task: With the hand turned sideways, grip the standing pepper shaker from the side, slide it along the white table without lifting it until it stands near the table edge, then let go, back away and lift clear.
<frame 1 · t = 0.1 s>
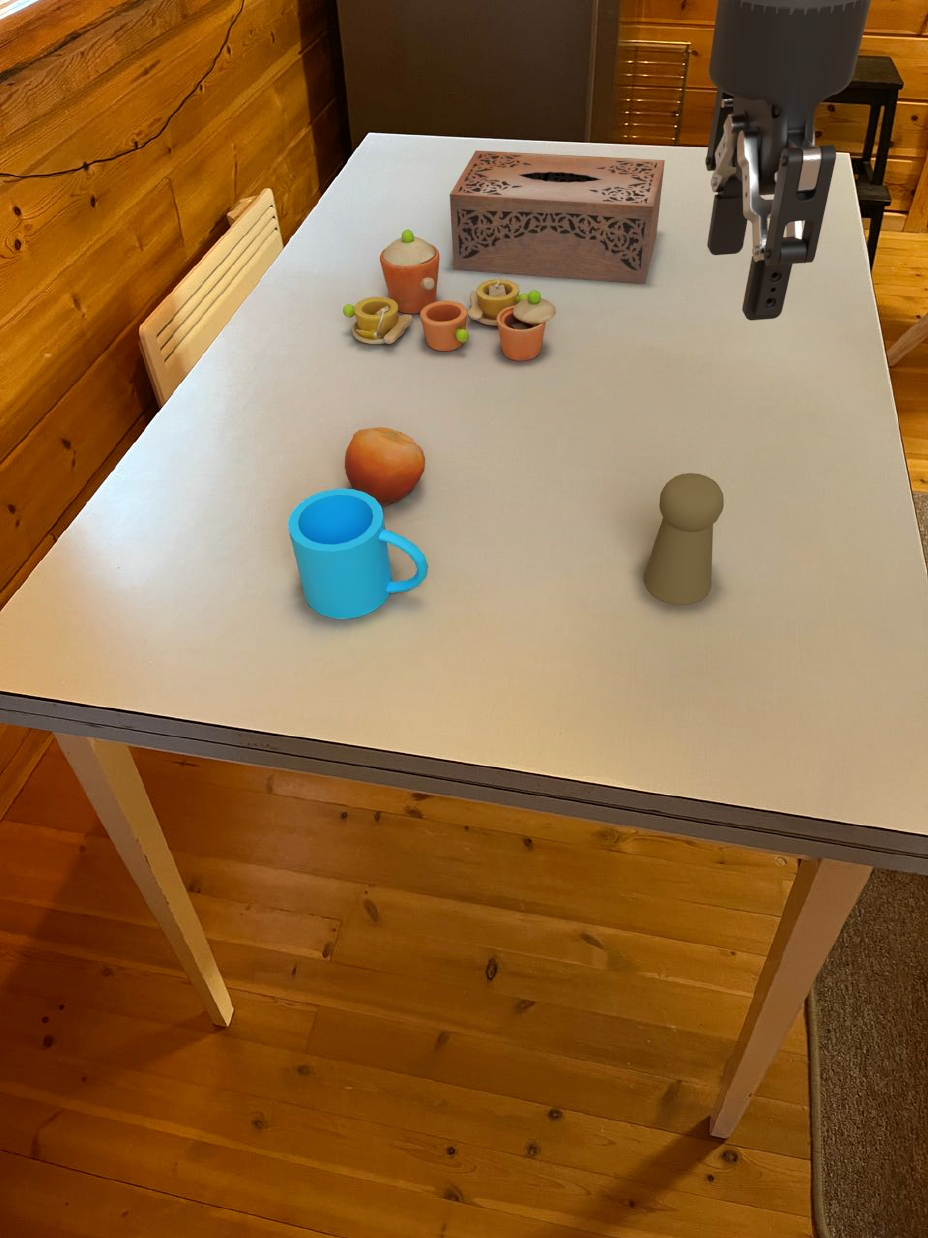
hand: (741, 282, 59), 31 cm above the table, tool pointing down, fingers open, 8 cm apart
pepper shaker: (677, 582, 84), on the table
tissue box cover: (556, 252, 128), on the table
mug: (368, 591, 85), on the table
fruit: (388, 492, 94), on the table
toy tea set: (456, 328, 116), on the table
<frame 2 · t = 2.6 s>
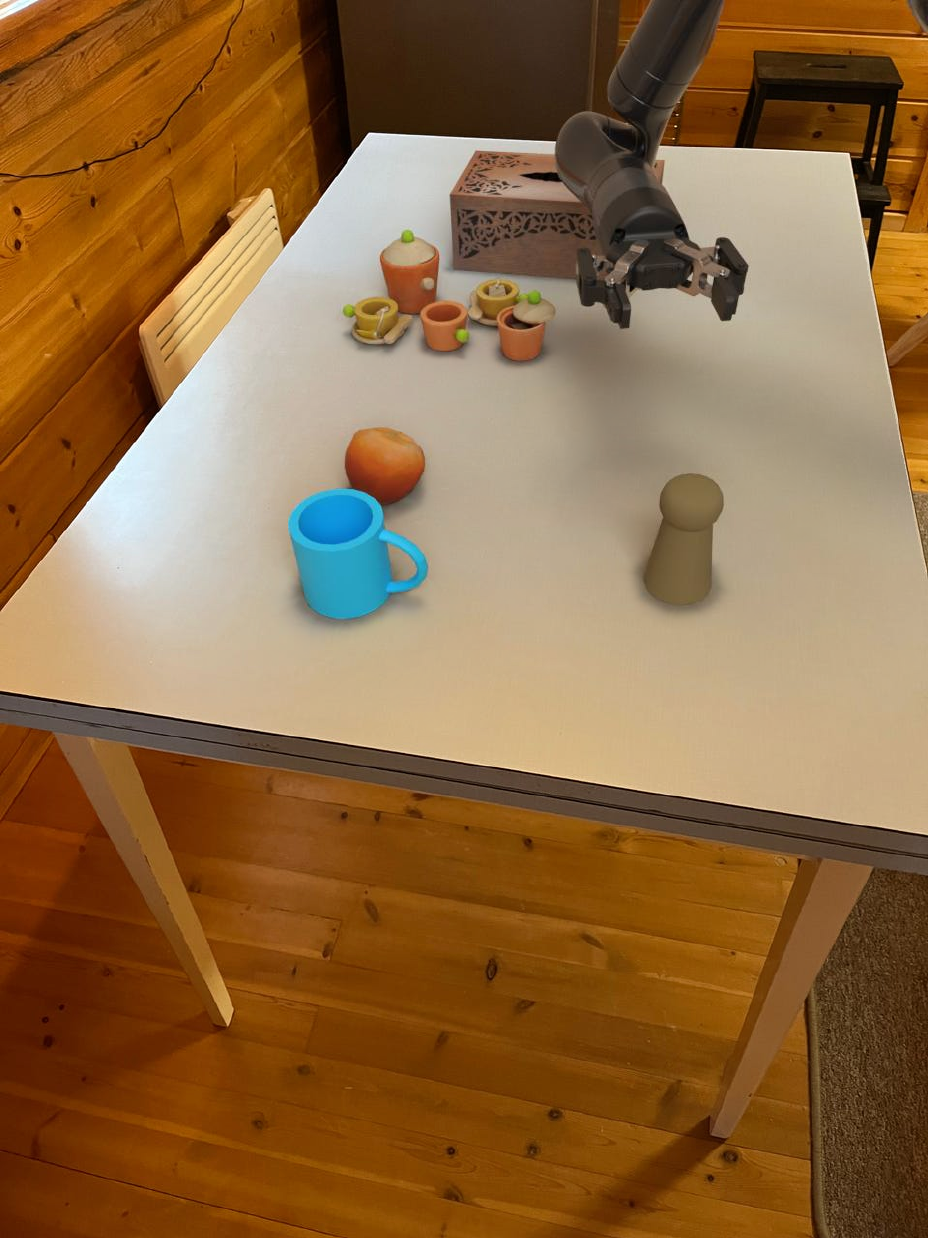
hand: (677, 314, 76), 20 cm above the table, tool horizontal, fingers open, 8 cm apart
nothing on the table moved.
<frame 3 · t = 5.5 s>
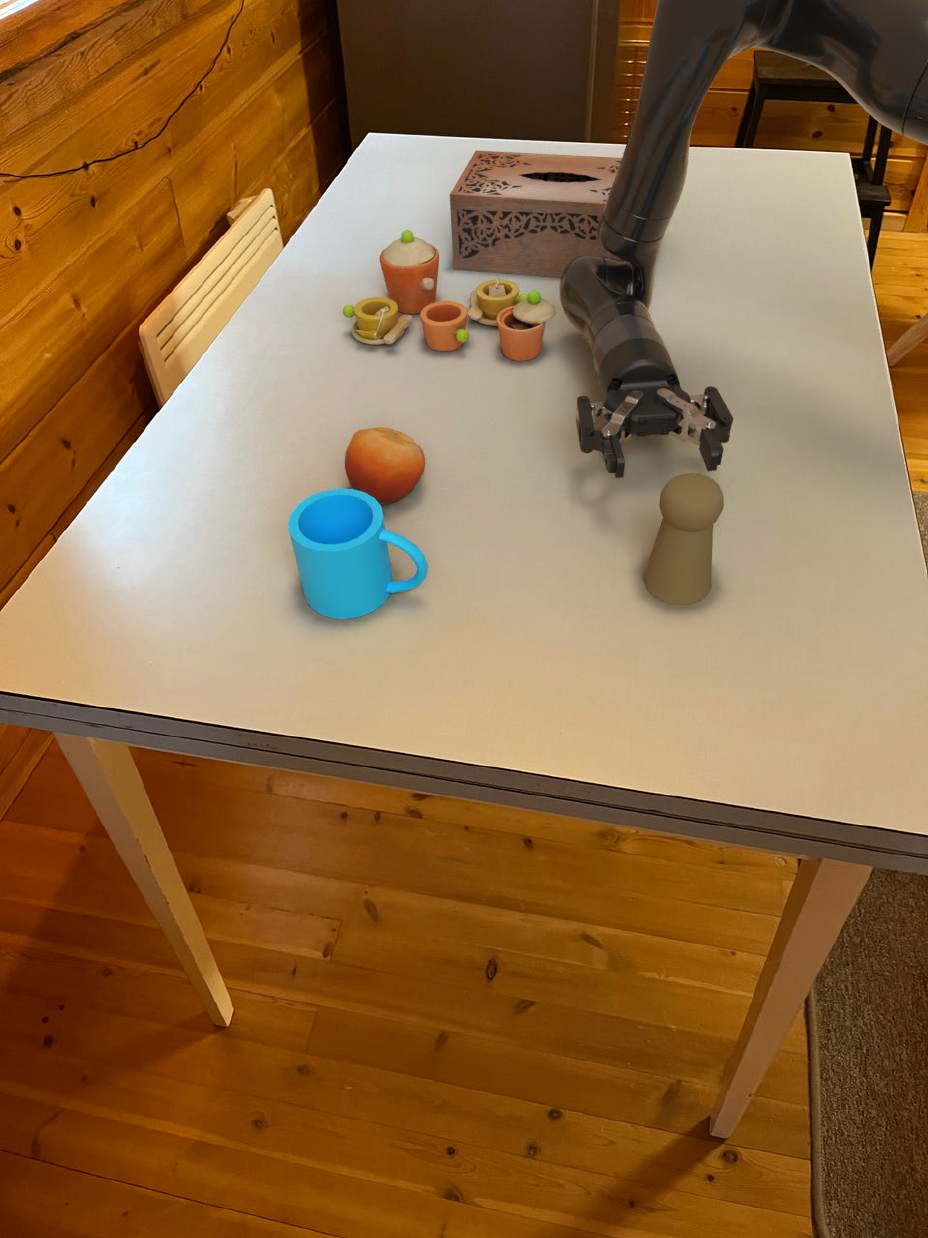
hand: (667, 466, 84), 7 cm above the table, tool horizontal, fingers open, 8 cm apart
nothing on the table moved.
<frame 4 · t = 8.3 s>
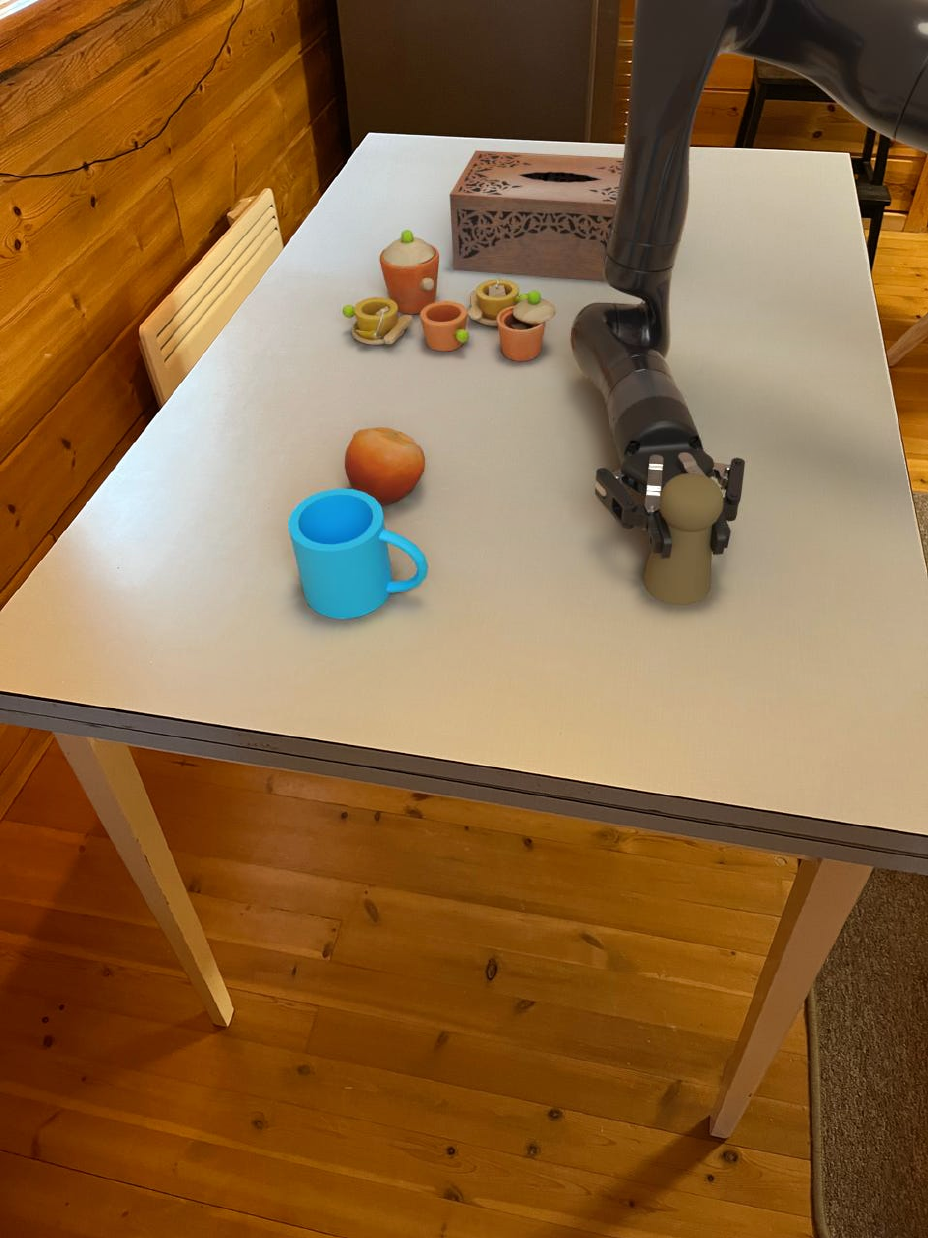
hand: (693, 548, 77), 7 cm above the table, tool horizontal, fingers closed on pepper shaker, 4 cm apart
pepper shaker: (676, 582, 84), on the table, touching gripper
everything else where it was.
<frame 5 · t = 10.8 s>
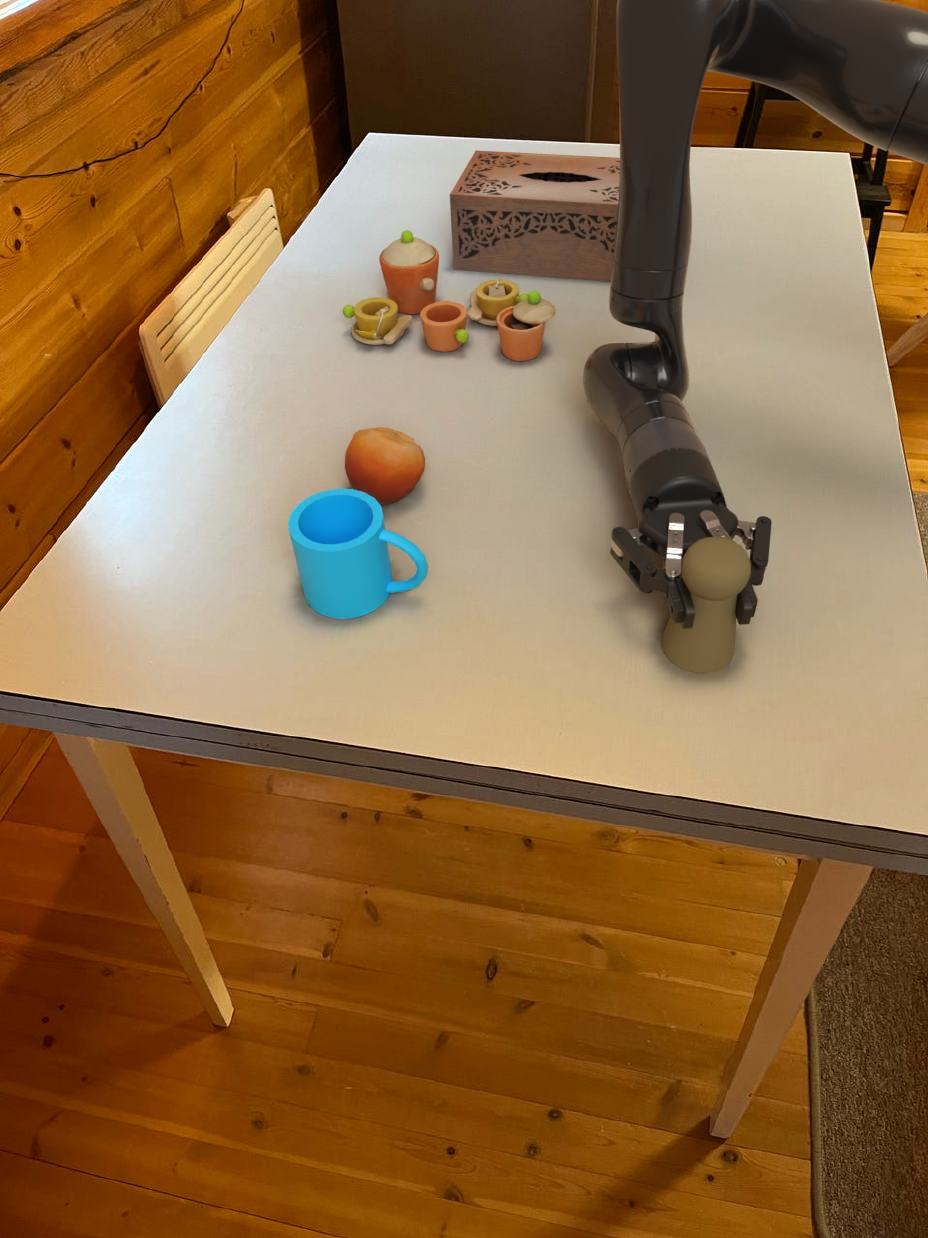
hand: (718, 618, 72), 7 cm above the table, tool horizontal, fingers closed on pepper shaker, 4 cm apart
pepper shaker: (697, 646, 78), on the table, touching gripper
everything else where it was.
when the fingers open (7 cm above the table, at t = 13.6 s): pepper shaker stays where it is, on the table.
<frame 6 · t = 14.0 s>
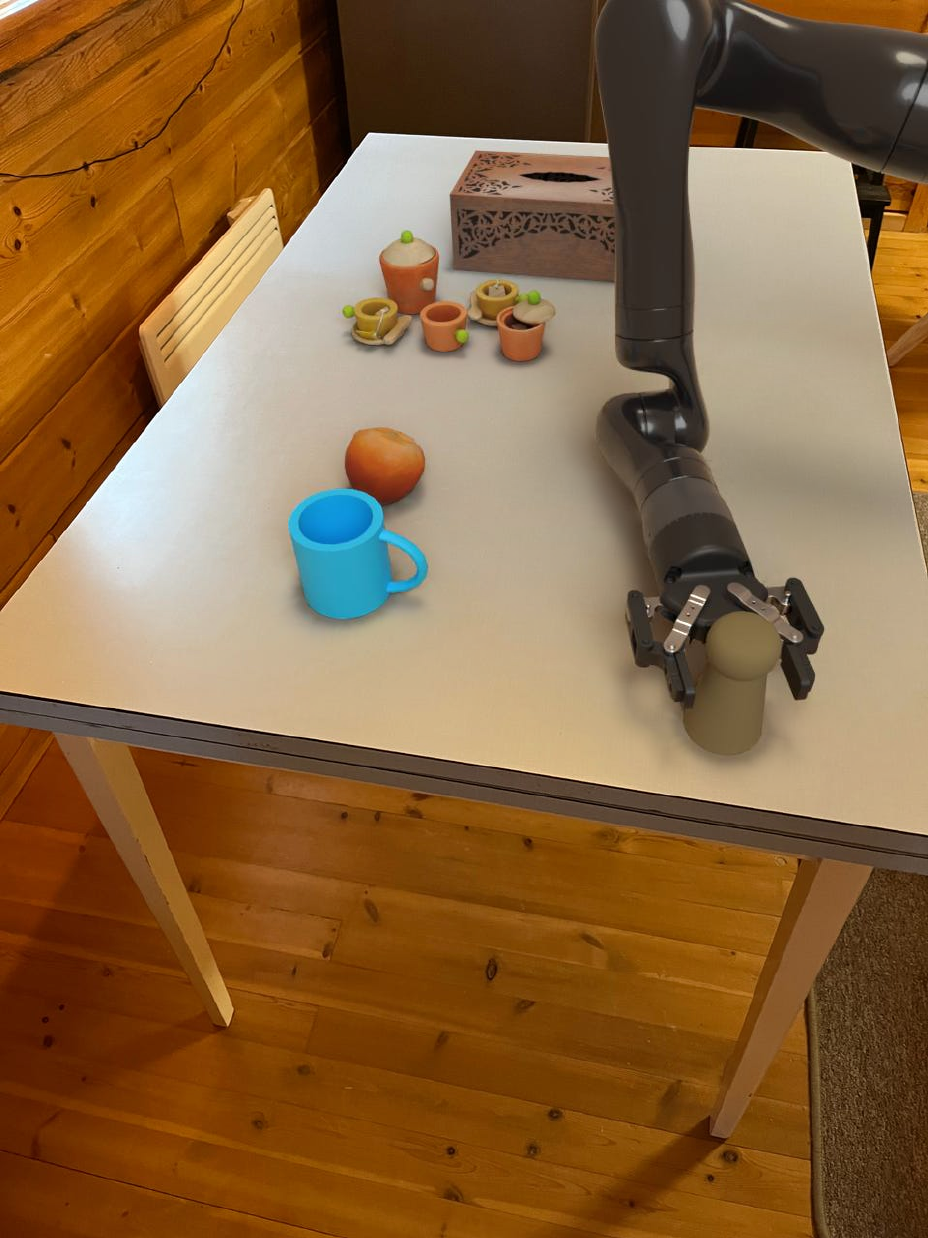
hand: (746, 697, 66), 7 cm above the table, tool horizontal, fingers open, 8 cm apart
pepper shaker: (722, 724, 73), on the table
everything else where it was.
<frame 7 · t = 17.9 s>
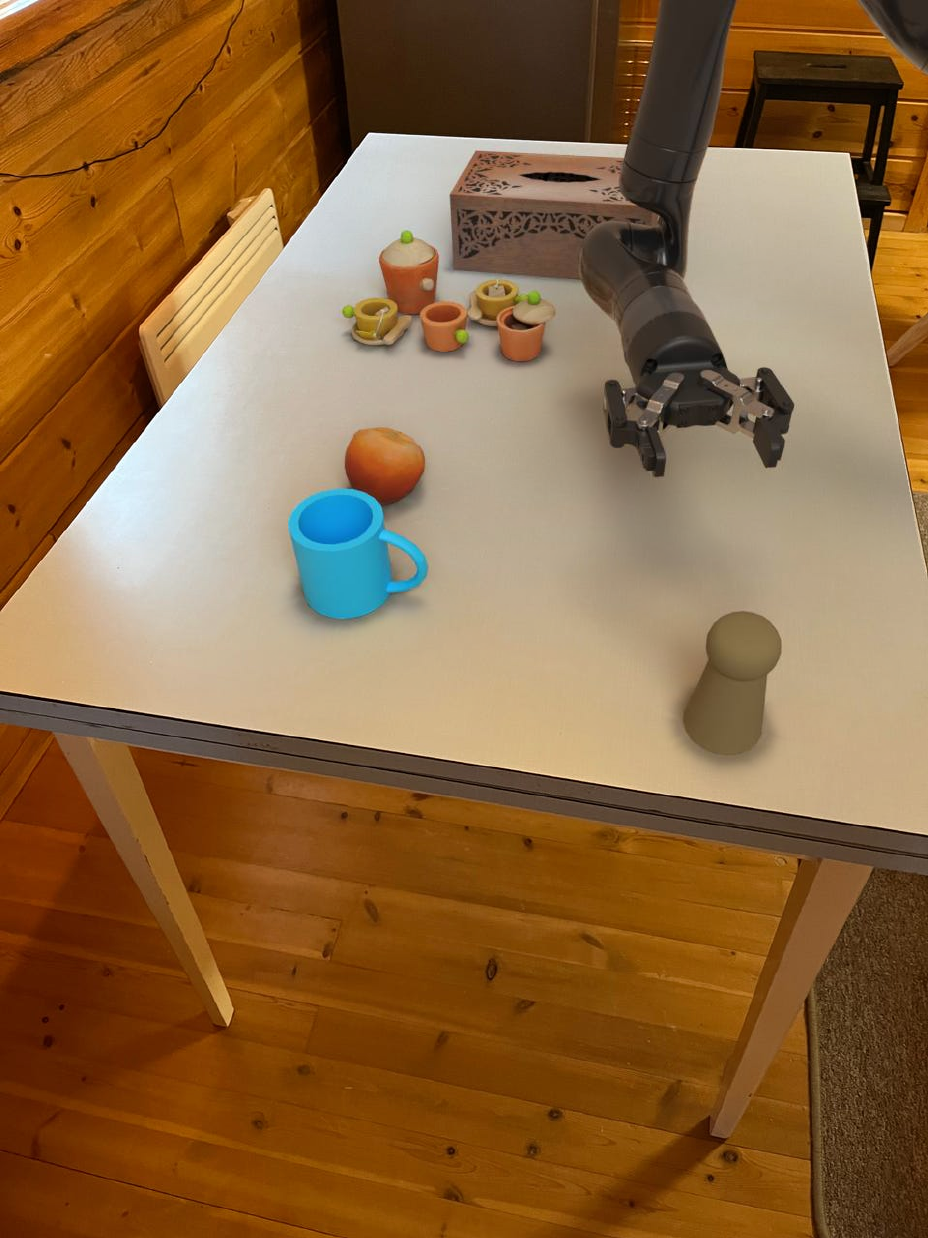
hand: (717, 463, 69), 16 cm above the table, tool horizontal, fingers open, 8 cm apart
nothing on the table moved.
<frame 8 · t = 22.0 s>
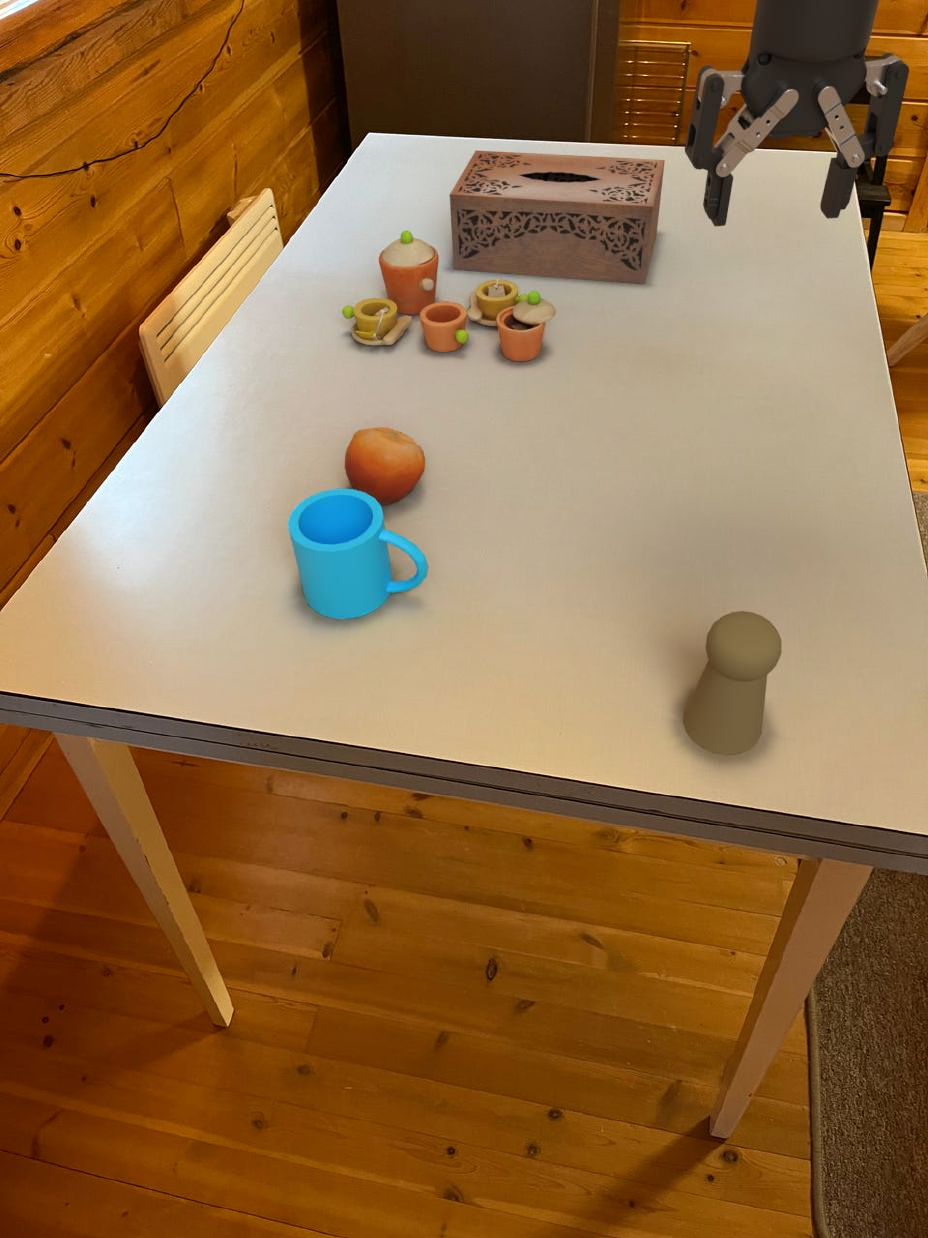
hand: (773, 217, 70), 28 cm above the table, tool pointing down, fingers open, 8 cm apart
nothing on the table moved.
at the end: pepper shaker inside the target area (0.6 cm from its centre), on the table; pepper shaker tilted 0°; pepper shaker moved 15.9 cm from its start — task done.
